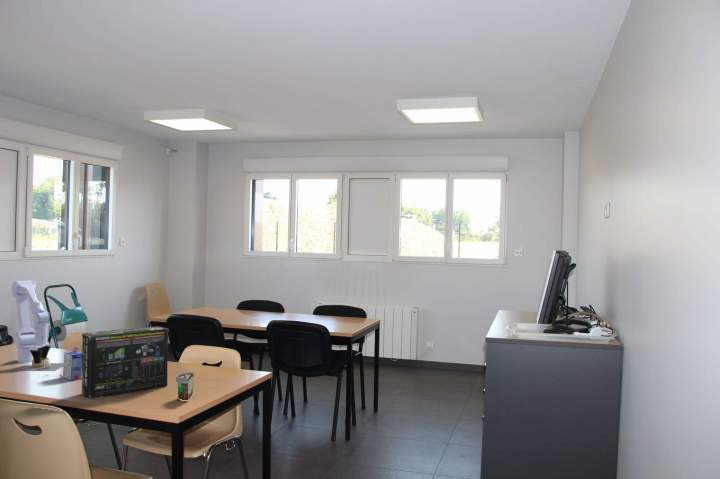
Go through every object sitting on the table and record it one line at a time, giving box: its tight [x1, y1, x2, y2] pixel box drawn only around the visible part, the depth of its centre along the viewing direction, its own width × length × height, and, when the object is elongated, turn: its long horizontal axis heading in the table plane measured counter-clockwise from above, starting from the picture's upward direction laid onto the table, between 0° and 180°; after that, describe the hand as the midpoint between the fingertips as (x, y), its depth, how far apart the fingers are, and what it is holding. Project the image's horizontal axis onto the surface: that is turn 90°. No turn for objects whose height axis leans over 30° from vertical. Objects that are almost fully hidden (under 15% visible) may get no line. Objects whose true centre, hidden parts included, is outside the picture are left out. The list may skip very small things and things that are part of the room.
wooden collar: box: [31, 357, 50, 367], centre depth 296 cm, size 6×6×4 cm
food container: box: [175, 371, 195, 400], centre depth 245 cm, size 12×6×10 cm, turn 5°
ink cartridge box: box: [62, 346, 82, 381], centre depth 276 cm, size 10×6×14 cm, turn 48°
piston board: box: [21, 359, 64, 372], centre depth 293 cm, size 18×16×5 cm
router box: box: [81, 325, 169, 399], centre depth 257 cm, size 36×11×27 cm, turn 133°
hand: (40, 362), depth 296 cm, fingers open, 7 cm apart
